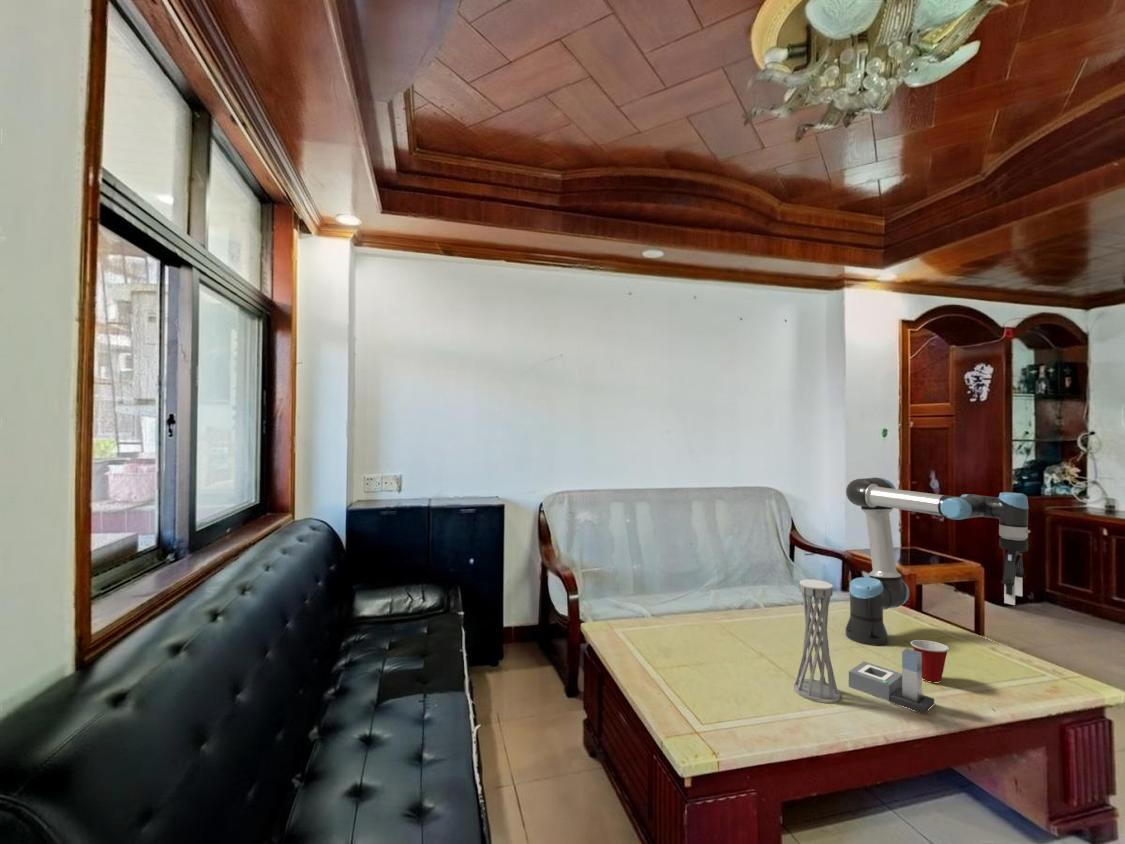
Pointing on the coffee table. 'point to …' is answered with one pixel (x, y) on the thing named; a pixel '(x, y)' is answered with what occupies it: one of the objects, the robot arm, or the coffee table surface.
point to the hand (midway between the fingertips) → (1013, 599)
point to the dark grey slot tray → (920, 707)
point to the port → (875, 680)
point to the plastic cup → (931, 658)
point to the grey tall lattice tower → (812, 687)
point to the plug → (912, 675)
